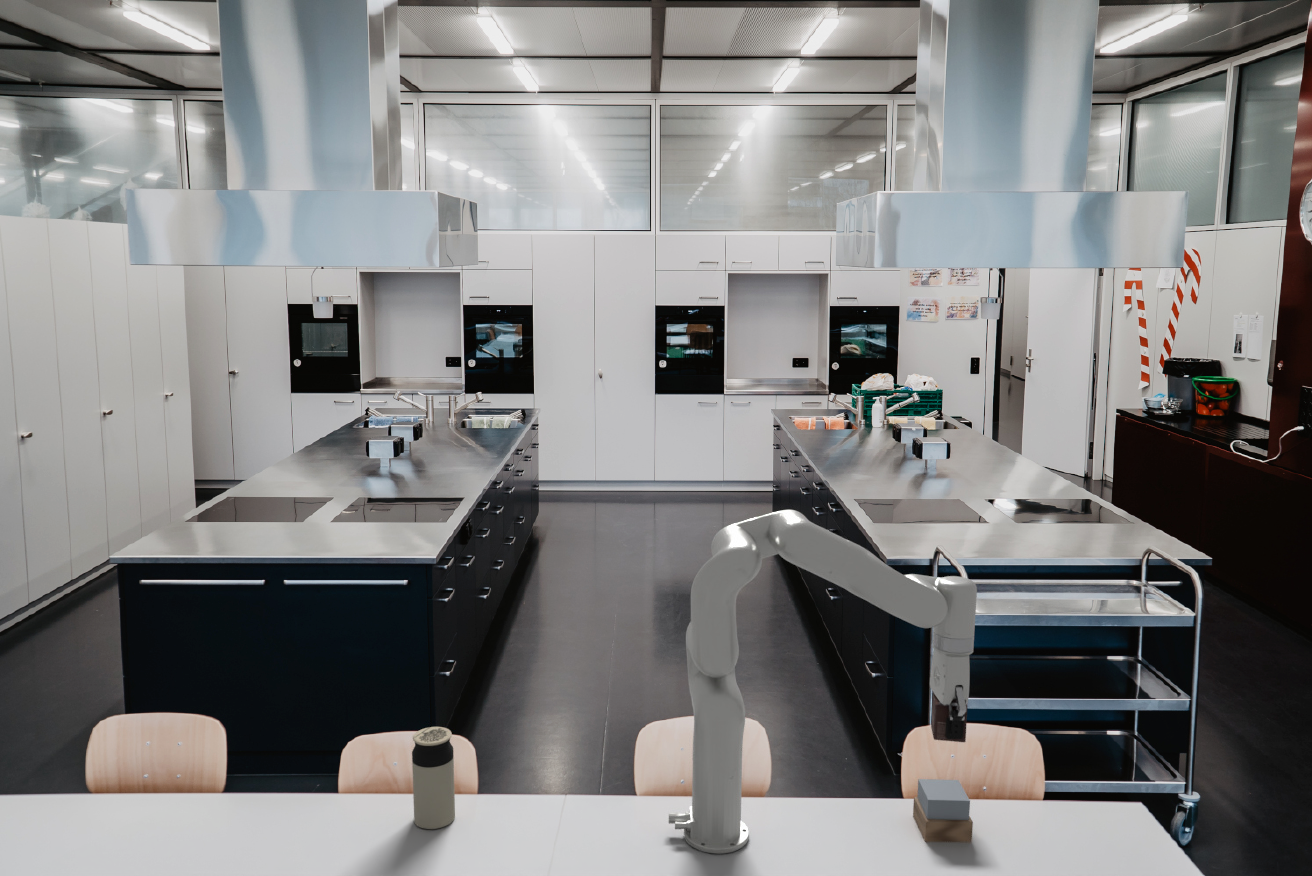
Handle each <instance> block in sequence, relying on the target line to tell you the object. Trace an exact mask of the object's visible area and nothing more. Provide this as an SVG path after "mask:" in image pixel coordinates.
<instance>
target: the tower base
mask: <svg viewBox="0 0 1312 876" xmlns="http://www.w3.org/2000/svg"><path fill="white" fill-rule="evenodd" d="M912 809H913V810H912V818H913V820H914V821H915V822H914V823H915V824H916V825H917V828H918V831H919V832H920V834H921V836H922V839H923V841H924V842H926V843H935V842H936V843H972V842H973V827H974V822H973V820H972V818H971V817H970V816H971V815H969V820H943V819H927V818H926V815H925V813H924V811H923V809H922V807H921V804H920V802H919V800H918V798H917V796H913V808H912Z"/></svg>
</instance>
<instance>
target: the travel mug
mask: <svg viewBox="0 0 1312 876" xmlns="http://www.w3.org/2000/svg"><path fill="white" fill-rule="evenodd" d="M452 736H453V735H452V731H451V730H450V729H449V728H447V727H442V726H431V727H430V726H429V727H425V728H422V729H420V730H418V731H416V732H415V733H414V734H413V735H412V741H413V742H414V747H413V749H412V751H411V759H412V760H411V761H412V763H411V765H412V789H413V790H412V792H413V797H412V799H413V819H414V820H413V821H414V823H415V824H414V825H416V826H417V827H419V828H422V829H425V830H427V829H428V830H436V829H440V828H444V827H447V826H448V825H450V824H451V823H452V822H453V821H454V820H455V818H456V803H455V802H456V799H455V798H456V796H455V794H456V793H455V765H454V763H455V761H454V759H455V757H454V746H453V745H452V743H451V738H452Z"/></svg>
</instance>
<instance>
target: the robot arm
mask: <svg viewBox="0 0 1312 876" xmlns="http://www.w3.org/2000/svg"><path fill="white" fill-rule="evenodd" d="M710 550H711V555H712V557H710V558H709V559H708V560H707V561H706V562H705V563H704V564H703V565H702V566H701V567H700V569H699V570H698V571H697V573H696V575H695V577H694V579H693V581H692V585H691V590H690V621H689V624H688V626H687V628H686V631H685V649H686V664H687V665H686V666H687V677H688V678H687V681H688V690H689V695H690V699H691V705H692V709H693V710H692V711H693V735H692V736H693V737H692V777H691V778H692V781H691V782H692V783H691V784H692V786H691V787H692V788H691V790H692V791H691V806H689V811H684V813H677V812H668V824H670V825H671V824H672V825H673V824H674V829H675V830H683V838H684V840H685V842H687V844H688V845H690V846H691V847H692V848H694V849H696V850H697V851H701V852H703V853H709V854H716V855H717V854H721V855H722V854H729V853H732V852H733V853H734V852H736V851H738V850H740V849H742V848H743V847H745V845H747V843H748V841H749V828H748V826H747V825H746V824H745V823H744V822H743V821H742V789H743V788H742V784H743V783H742V781H743V777H742V776H743V742H744V741H743V740H744V734H745V733H744V731H745V725H746V706H745V702H744V698H743V695H742V693H741V690H740V688H739V686H738V683H737V678H736V668H735V667H736V665H737V662H738V660H739V654H740V645H739V640H738V627H737V626H738V625H737V598H738V595H739V593H740V591H741V590H742V589H743V587H745V586H746V585H747V584H749V583H750V582H751V581H753V580H754V579H755V578H756V576H757V575H758V574H759V573H760V570H761V569H762V564H763V559H766V558H770V557H773V556H776V555H779V556H780V557H781V558H783V560H785V561H787V562H789V563H790V564H792V565H795V567H799V568H801V569H802V570H806V571H807V572H810V573H812V574H813V575H816V576H818V577H820V578H822V579H824V580H826V581H828V582H829V583H833V584H835V585H837V586H838V587H840V588H843V589H845V590H846V591H848V592H849V593H851V594H853V595H854V596H857V597H858V598H860V599H863V600H865V601H867V602H868V603H870V604H871V605H874V606H875V607H877V608H879V609H880V610H883V611H884V612H886V613H888V614H890V615H892V616H893V617H896V618H899V619H901V620H902V621H905V622H907V623H909V624H911V625H913V626H916V627H919V628H923V629H929V628H930V629H931V628H932V629H933V632H932V644H931V645H932V649H933V650H932V657H931V667H930V677H929V687H930V690H931V691H932V693H934V694H935V695H936V697H937V698H938V700H939V701H940V702H941V703H942V704H943V705H946V704H947V707H948V718H946V732H945V737H946V738H947V739H962V738H963V728H964V719H965V717H964V715H965V712H966V704H967V705H968V703H969V696H970V680H971V679H970V677H971V676H970V672H971V671H970V670H971V669H970V667H971V666H970V665H971V664H970V655H972V654H973V653H974V646H975V643H974V642H975V628H976V627H975V626H976V612H977V611H976V610H977V598H978V597H977V596H978V587H977V584H976V583H975V581H973V580H972V579H969V578H967V577H964V576H957V575H950V576H949V575H947V576H944V577H943V576H942V577H939V576H938V577H937V576H929V575H923V574H917V573H916V574H915V573H909V574H902V573H901V572H899V571H897V570H895V569H894V568H893V567H891V566H889V565H888V564H886V563H885V562H883V561H882V560H881V559H880V558H878V557H877V556H876V555H875V554H874V553H872V552H871V551H869V550H868V549H867V548H865V547H863V546H861V545H860V544H857V543H855V542H853V541H851V540H848V539H846V538H844V537H842V536H840V535H838V534H836V533H833V531H830V530H829V529H826V528H825V527H822V526H819V525H817V524H815V523H814V522H812V521H810V520H809V519H808V518H807V517H806V516H805V515H804V514H803V513H802V512H800V511H798V510H794V509H783V510H778V511H773V512H770V513H767V514H763V515H760V516H755V517H753V518H749V519H746V520H743V521H739V522H735V523H731V524H730V525H727V526H724V527H723V528H721V529H720V530H719V531H717V532H716V534H715V535H714V536H713V539H712V541H711V545H710ZM952 700H956V702H957V703H951V701H952ZM952 706H957V710H954V711H953V713H952Z"/></svg>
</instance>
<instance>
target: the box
mask: <svg viewBox="0 0 1312 876" xmlns="http://www.w3.org/2000/svg"><path fill="white" fill-rule="evenodd" d="M951 703H957V702H956V700H952V701H951ZM931 704H932V706H931V723H930V725H931V726H930V728H931V734H932V737H933V740H934V741H946V742H957V743H966V742H967V741H966V739H967V722H968V721H967V720H968V718H967V717H968V703H967V704H966V712H965V715H964V717H965V719H964V728H963V738H962V739H947V738H946V737H945V732H946V718H948V707H947V704H946V705H943V704H942V703H941V702H940V701H939V700H938V698H937V697H936V695H935V694H934V692H932V703H931ZM954 710H957V706H952V713H953V711H954Z"/></svg>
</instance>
